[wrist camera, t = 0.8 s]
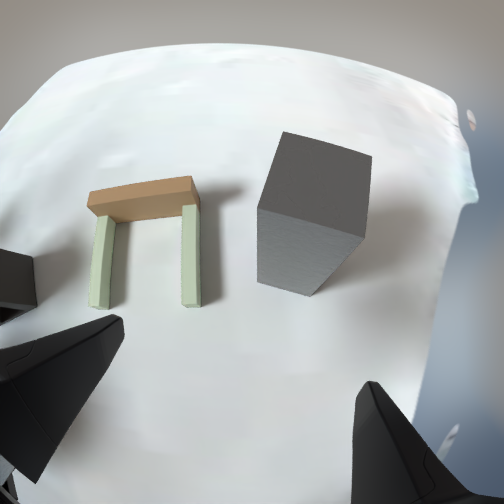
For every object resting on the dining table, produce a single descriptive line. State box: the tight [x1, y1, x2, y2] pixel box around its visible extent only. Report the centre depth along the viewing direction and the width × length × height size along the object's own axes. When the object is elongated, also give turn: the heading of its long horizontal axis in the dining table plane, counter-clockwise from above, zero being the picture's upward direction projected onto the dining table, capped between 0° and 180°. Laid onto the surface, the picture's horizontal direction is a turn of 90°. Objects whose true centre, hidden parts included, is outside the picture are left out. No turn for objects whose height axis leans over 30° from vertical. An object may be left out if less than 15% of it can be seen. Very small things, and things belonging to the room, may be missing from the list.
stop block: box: [257, 132, 372, 297], centre depth 17 cm, size 4×4×12 cm
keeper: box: [87, 176, 201, 310], centre depth 22 cm, size 10×10×4 cm
